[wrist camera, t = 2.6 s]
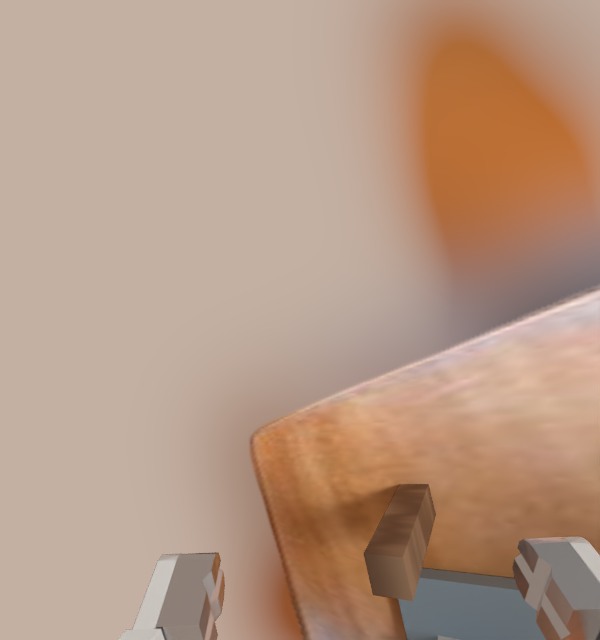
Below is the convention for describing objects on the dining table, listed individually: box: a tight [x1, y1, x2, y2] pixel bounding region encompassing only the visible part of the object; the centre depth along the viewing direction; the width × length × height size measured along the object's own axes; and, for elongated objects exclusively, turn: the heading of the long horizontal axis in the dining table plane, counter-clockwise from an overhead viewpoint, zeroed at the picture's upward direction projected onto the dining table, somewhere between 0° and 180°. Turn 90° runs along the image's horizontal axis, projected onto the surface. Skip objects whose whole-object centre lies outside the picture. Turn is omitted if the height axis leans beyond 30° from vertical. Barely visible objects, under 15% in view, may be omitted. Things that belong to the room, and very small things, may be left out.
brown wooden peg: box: [364, 484, 436, 601], centre depth 30 cm, size 3×3×12 cm
